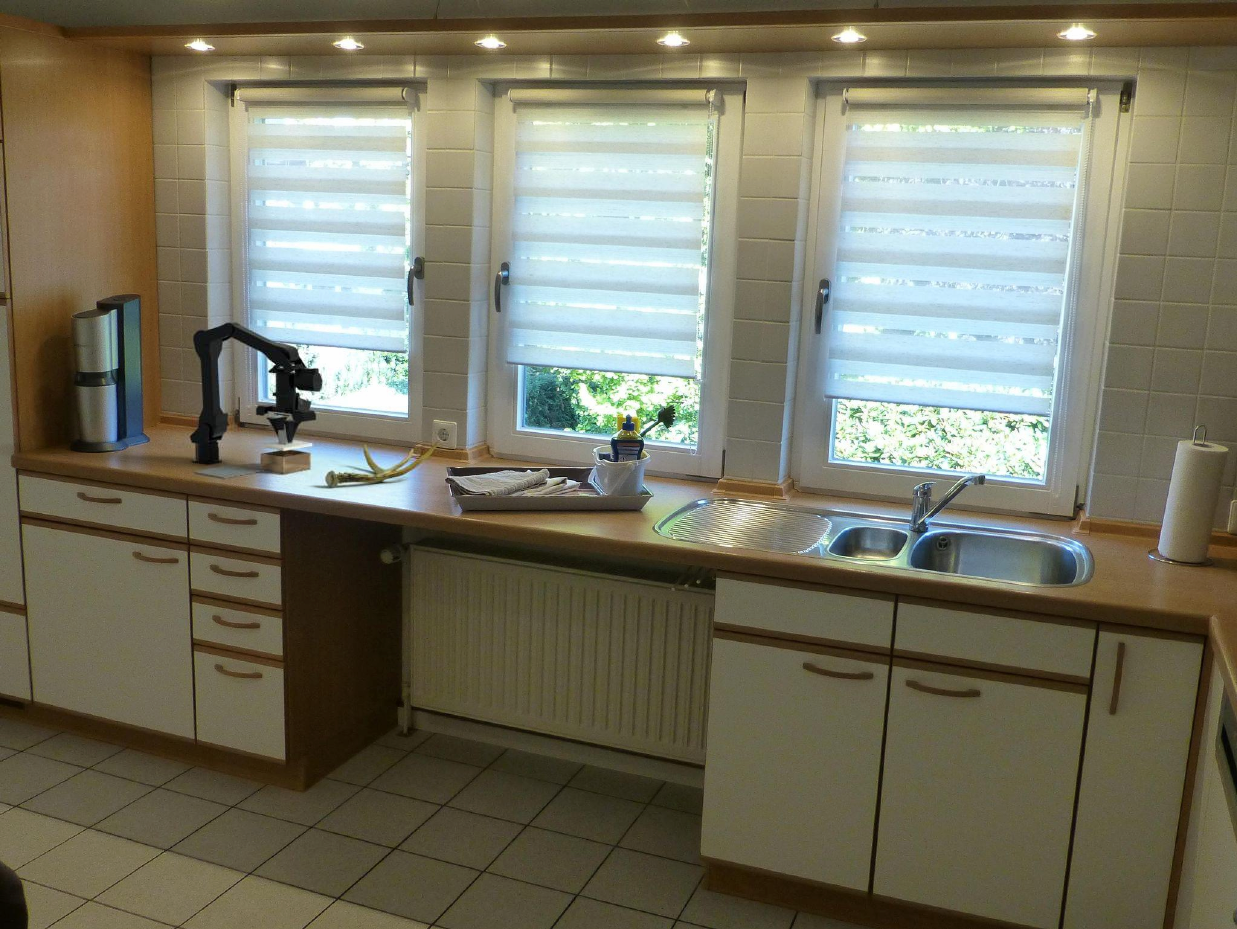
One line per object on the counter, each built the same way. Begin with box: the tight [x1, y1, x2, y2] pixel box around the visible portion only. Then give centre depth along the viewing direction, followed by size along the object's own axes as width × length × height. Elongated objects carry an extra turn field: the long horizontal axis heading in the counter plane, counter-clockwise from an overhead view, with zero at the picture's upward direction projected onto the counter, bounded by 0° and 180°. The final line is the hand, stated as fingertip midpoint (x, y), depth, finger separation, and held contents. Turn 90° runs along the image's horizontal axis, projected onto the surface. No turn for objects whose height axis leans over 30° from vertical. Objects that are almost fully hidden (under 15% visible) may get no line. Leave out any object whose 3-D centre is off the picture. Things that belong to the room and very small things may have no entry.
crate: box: [260, 449, 312, 476], centre depth 322 cm, size 9×11×5 cm
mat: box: [194, 464, 260, 479], centre depth 314 cm, size 12×13×1 cm
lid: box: [258, 428, 313, 451], centre depth 321 cm, size 10×12×5 cm
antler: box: [324, 440, 441, 489], centre depth 314 cm, size 27×32×10 cm
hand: (285, 441), depth 321 cm, fingers closed on lid, 3 cm apart
